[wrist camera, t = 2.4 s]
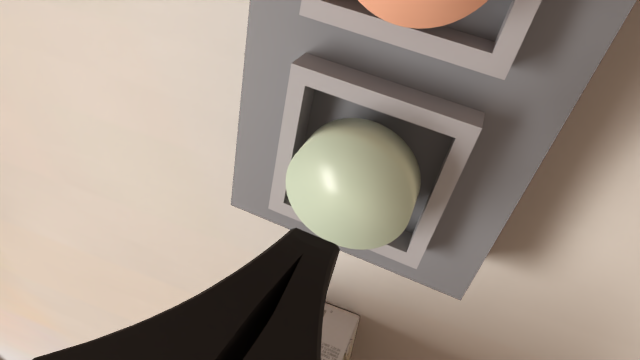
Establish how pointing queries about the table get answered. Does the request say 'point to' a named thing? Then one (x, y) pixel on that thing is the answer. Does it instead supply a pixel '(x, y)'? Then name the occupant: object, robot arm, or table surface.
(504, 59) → the button panel
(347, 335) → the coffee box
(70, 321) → the table surface
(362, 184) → the sage button
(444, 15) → the terracotta button
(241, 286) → the robot arm
